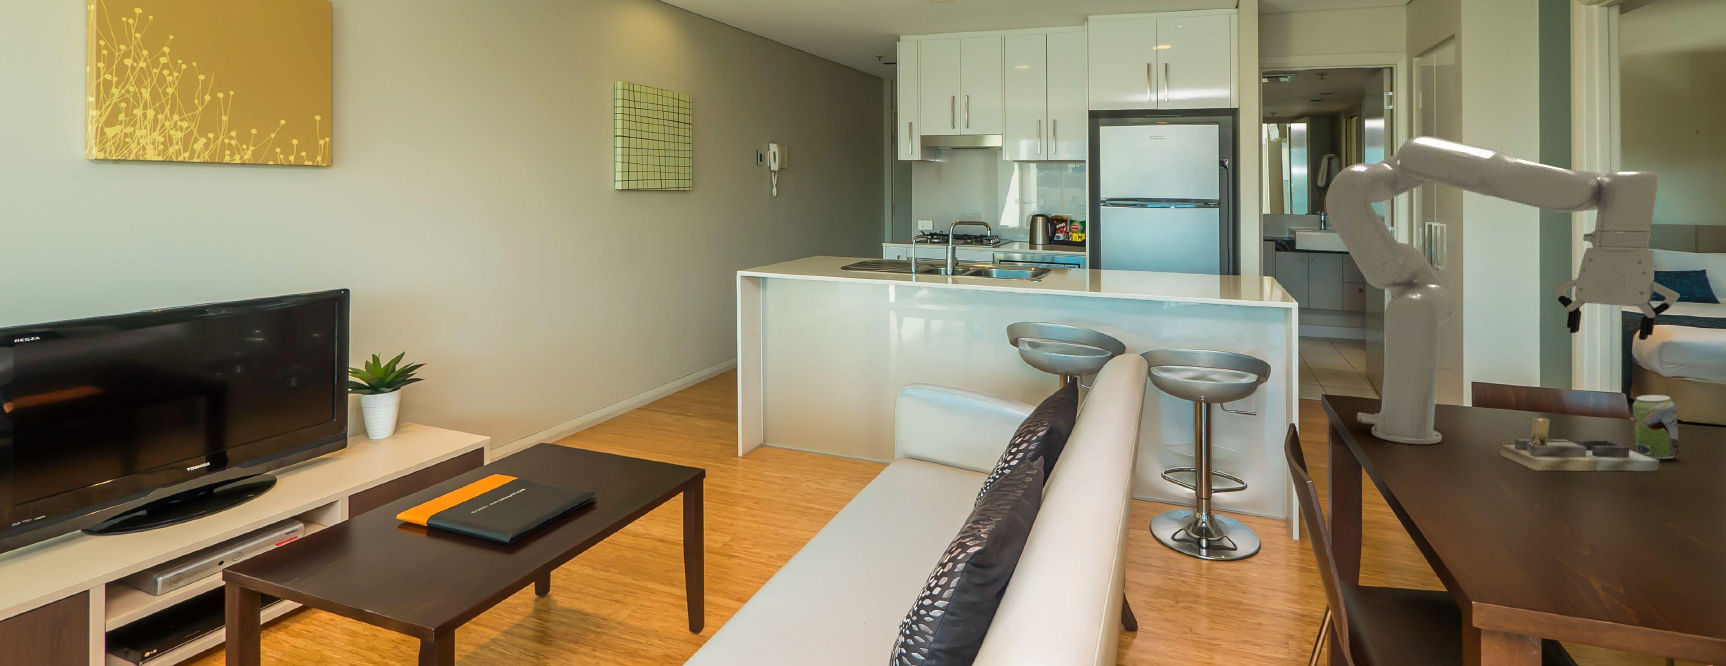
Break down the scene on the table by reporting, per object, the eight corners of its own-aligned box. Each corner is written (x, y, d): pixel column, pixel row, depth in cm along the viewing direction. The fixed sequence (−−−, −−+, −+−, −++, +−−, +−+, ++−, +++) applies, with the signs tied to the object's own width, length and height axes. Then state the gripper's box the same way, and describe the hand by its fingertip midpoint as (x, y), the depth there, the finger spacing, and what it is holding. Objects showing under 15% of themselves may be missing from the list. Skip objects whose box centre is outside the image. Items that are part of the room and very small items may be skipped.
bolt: (1534, 453, 161) (1537, 420, 160) (1525, 450, 163) (1528, 417, 162) (1579, 453, 160) (1582, 420, 159) (1570, 450, 163) (1573, 417, 162)
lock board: (1535, 470, 158) (1537, 450, 157) (1500, 454, 168) (1502, 436, 167) (1658, 471, 156) (1660, 451, 155) (1615, 455, 166) (1617, 436, 165)
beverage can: (1686, 462, 160) (1694, 400, 159) (1641, 461, 162) (1648, 399, 160) (1663, 453, 167) (1670, 392, 165) (1619, 451, 168) (1626, 392, 166)
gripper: (1554, 240, 157) (1542, 332, 159) (1683, 244, 143) (1668, 344, 146) (1565, 238, 161) (1553, 327, 164) (1691, 242, 148) (1676, 339, 151)
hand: (1607, 335), depth 155 cm, fingers open, 9 cm apart
